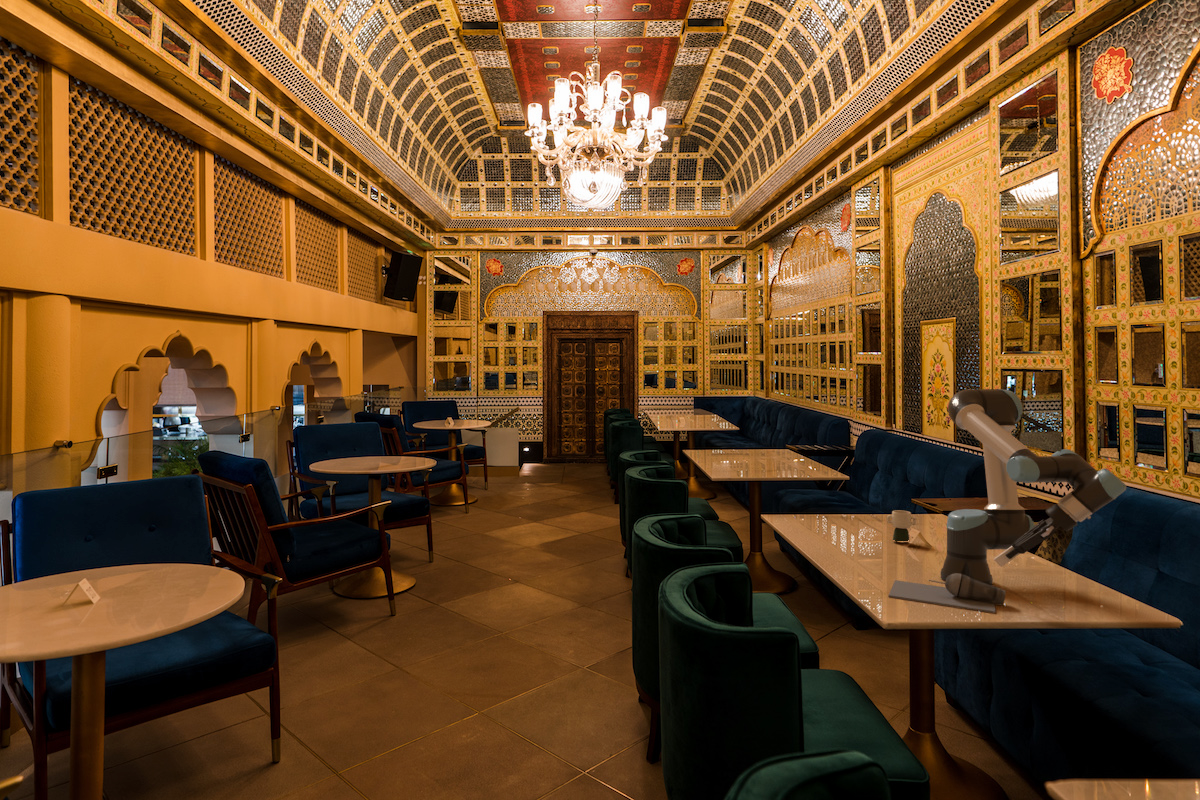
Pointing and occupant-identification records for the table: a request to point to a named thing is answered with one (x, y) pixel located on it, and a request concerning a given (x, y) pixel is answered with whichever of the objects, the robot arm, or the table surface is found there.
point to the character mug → (901, 524)
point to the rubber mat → (936, 596)
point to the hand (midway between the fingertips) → (997, 562)
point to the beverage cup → (973, 589)
